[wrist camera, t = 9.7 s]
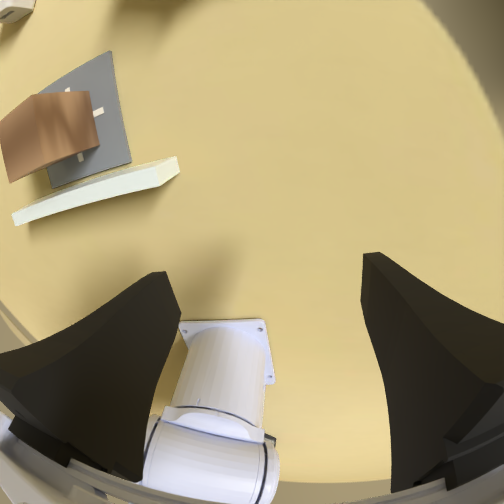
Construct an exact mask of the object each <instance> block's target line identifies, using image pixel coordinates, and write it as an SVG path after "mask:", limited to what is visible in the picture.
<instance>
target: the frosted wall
mask: <svg viewBox="0 0 504 504" xmlns="http://www.w3.org/2000/svg"><path fill="white" fill-rule="evenodd" d="M178 173H180V170H179V166H178V162H177V157H176V156H173V157H169V158H165V159H161V160H157V161H153V162H149V163H145V164H141V165H137V166H134V167H130V168H127V169H123V170H120V171H116V172H113V173H110V174H106V175H103V176H100V177H97V178H94V179H91V180H88V181H85V182H82V183H79V184H76V185H73V186H71V187H68V188H65V189H62V190H60V191H57V192H54V193H52V194H49V195H47V196H44V197H42V198H39V199H37V200H35V201H33V202H31V203H29V204H28V205H26V206H24V207H23V208H21V209H19V210H17V211H16V212H14V213H13V214H11V215H12V218H13V221H14V223H15V226H18V225H21V224H24V223H27V222H30V221H32V220H35V219H38V218H41V217H45V216H48V215H51V214H54V213H57V212H60V211H64V210H67V209H70V208H74V207H77V206H81V205H84V204H88V203H92V202H95V201H99V200H103V199H107V198H111V197H115V196H119V195H123V194H127V193H131V192H135V191H140V190H144V189H149V188H153V187H158V186H161V185H162V184H163V183H165V182H166V181H168V180H169V179H171V178H172V177H174V176H175V175H177V174H178Z"/></svg>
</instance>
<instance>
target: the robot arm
mask: <svg viewBox="0 0 504 504" xmlns="http://www.w3.org/2000/svg"><path fill="white" fill-rule="evenodd" d="M360 301H361V305H362V310H363V315H364V320H365V324H366V327H367V330H368V333H369V336H370V339H371V342H372V345H373V348H374V351H375V354H376V357H377V361H378V364H379V367H380V370H381V373H382V378H383V382H384V386H385V392H386V399H387V406H388V414H389V423H390V435H391V457H392V466H391V494H387V495H383V496H378V497H373V498H368V499H363V500H357V501H350V502H343V503H335V504H504V324H503V323H500V322H498V321H495V320H493V319H490V318H488V317H486V316H483V315H481V314H479V313H477V312H474V311H472V310H470V309H468V308H466V307H464V306H462V305H460V304H459V303H457V302H455V301H453V300H451V299H449V298H448V297H446V296H444V295H442V294H441V293H439V292H438V291H436V290H435V289H433V288H431V287H430V286H428V285H427V284H425V283H424V282H422V281H421V280H419V279H418V278H416V277H415V276H414V275H412V274H411V273H409V272H408V271H407V270H405V269H404V268H402V267H401V266H400V265H398V264H397V263H395V262H394V261H393V260H391V259H390V258H388V257H387V256H385V255H384V254H382V253H381V252H374V253H365V254H363V270H362V287H361V300H360ZM180 317H181V311H180V308H179V306H178V303H177V300H176V298H175V295H174V293H173V290H172V287H171V284H170V282H169V279H168V276H167V273H166V271H163V272H152V273H150V274H148V275H146V276H145V277H143V278H141V279H140V280H138V281H137V282H135V283H134V284H133V285H131V286H130V287H128V288H127V289H126V290H124V291H123V292H121V293H120V294H119V295H117V296H116V297H114V298H113V299H112V300H110V301H109V302H107V303H106V304H104V305H103V306H101V307H100V308H98V309H97V310H96V311H94V312H93V313H91V314H90V315H88V316H87V317H85V318H83V319H82V320H80V321H78V322H77V323H75V324H73V325H71V326H70V327H68V328H66V329H64V330H62V331H60V332H58V333H56V334H54V335H52V336H50V337H48V338H45V339H43V340H41V341H38V342H36V343H33V344H31V345H28V346H25V347H22V348H19V349H16V350H12V351H8V352H5V353H1V354H0V401H1V402H2V403H3V404H4V405H5V406H6V407H7V408H8V409H9V410H10V411H11V412H12V413H13V414H14V415H15V417H14V419H13V420H12V419H10V418H9V417H8V416H7V415H5V414H4V413H3V412H1V411H0V486H1V488H2V489H3V490H4V492H5V493H6V495H7V496H8V497H9V499H10V500H11V501H12V503H13V504H114V503H112V502H109V501H108V499H107V496H106V494H109V495H111V496H113V497H116V498H118V499H121V500H123V501H126V502H128V503H129V504H270V503H271V501H272V499H273V497H274V495H275V492H276V489H277V485H278V480H279V472H280V460H279V455H278V452H277V450H276V449H275V448H274V446H273V444H272V443H271V442H269V441H264V432H265V430H264V429H262V421H263V410H264V400H265V389H266V385H267V384H274V383H275V380H276V379H275V374H274V368H273V363H272V357H271V352H270V346H269V341H268V335H267V330H266V324H265V321H264V320H263V319H241V320H215V321H181V322H179V321H180ZM178 327H179V330H180V332H181V334H182V337H183V339H184V341H185V343H186V346H187V348H188V350H189V351H188V354H187V357H186V360H185V363H184V366H183V369H182V371H181V374H180V377H179V380H178V383H177V386H176V389H175V392H174V395H173V398H172V401H171V403H170V406H165V407H164V410H163V413H162V416H159V415H156V414H153V415H151V416H150V417H149V414H150V409H151V404H152V400H153V396H154V392H155V388H156V385H157V382H158V380H159V377H160V374H161V372H162V369H163V367H164V364H165V362H166V359H167V357H168V354H169V352H170V349H171V347H172V344H173V342H174V339H175V336H176V333H177V329H178ZM259 328H262V329H259ZM186 330H187V331H186ZM102 471H103V472H102ZM104 472H105V473H104ZM107 473H108V474H107ZM109 474H111V475H109ZM112 475H113V476H112ZM115 476H116V477H115ZM117 477H119V478H117ZM120 478H121V479H120ZM123 479H124V480H123ZM126 480H127V481H126ZM103 492H104V493H103ZM105 493H106V494H105Z"/></svg>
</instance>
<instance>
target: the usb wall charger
mask: <svg viewBox="0 0 504 504" xmlns="http://www.w3.org/2000/svg"><path fill="white" fill-rule="evenodd" d="M35 1H36V0H0V23H14V22H16V21H18V20H19V19H21V18H22V17H24V16H25V15H27V14H29V13H30V12H32V11H33V9H34V5H35Z"/></svg>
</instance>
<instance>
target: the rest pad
mask: <svg viewBox="0 0 504 504" xmlns="http://www.w3.org/2000/svg"><path fill="white" fill-rule="evenodd" d="M69 91H89V93H90V99H91V105H92V110H93V115H94V120H95V125H96V130H97V135H98V139H99V143H100V145H98V146H96V147H93V148H91V149H88V150H86V151H84V152H81V153H79V154H77V155H74V156H72V157H70V158H67V159H65V160H63V161H61V162H58V163H56V164H53V165H51V166H48V167H46V168H47V171H48V175H49V179H50V182H51V186H52V189H54V188H56V187H59V186H61V185H64V184H66V183H69V182H72V181H74V180H77V179H80V178H83V177H86V176H89V175H91V174H94V173H97V172H100V171H103V170H107V169H110V168H113V167H116V166H119V165H123V164H126V163H129V162H132V159H131V155H130V150H129V146H128V142H127V137H126V133H125V128H124V123H123V119H122V113H121V108H120V103H119V98H118V92H117V86H116V80H115V73H114V67H113V59H112V52H111V51H107V52H105V53H103V54H101V55H99V56H98V57H96V58H94V59H92V60H90V61H88V62H86V63H85V64H83V65H81V66H79V67H78V68H76V69H74V70H73V71H71V72H69V73H68V74H66V75H64V76H63V77H61V78H60V79H58V80H57V81H55V82H54V83H52V84H51V85H49V86H48V87H46V88H45V89H43V90H42V91H41V92H39V93H38V94H44V93H54V92H69Z"/></svg>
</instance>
